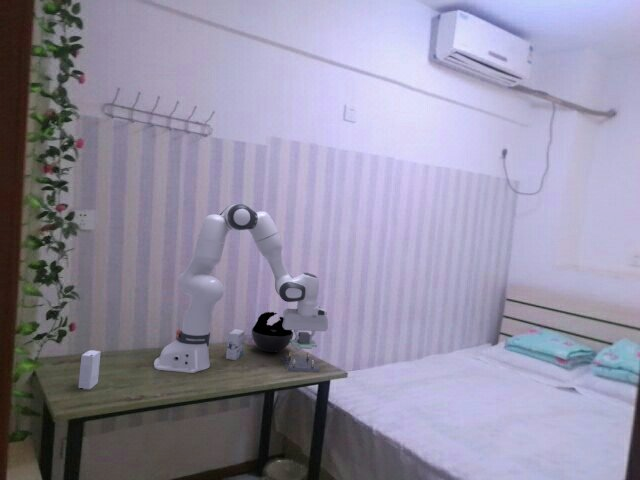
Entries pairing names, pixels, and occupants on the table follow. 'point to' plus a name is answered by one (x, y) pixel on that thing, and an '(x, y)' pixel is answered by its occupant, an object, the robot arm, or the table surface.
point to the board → (303, 346)
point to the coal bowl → (271, 334)
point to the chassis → (300, 364)
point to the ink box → (235, 344)
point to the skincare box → (89, 369)
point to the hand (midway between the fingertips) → (303, 339)
